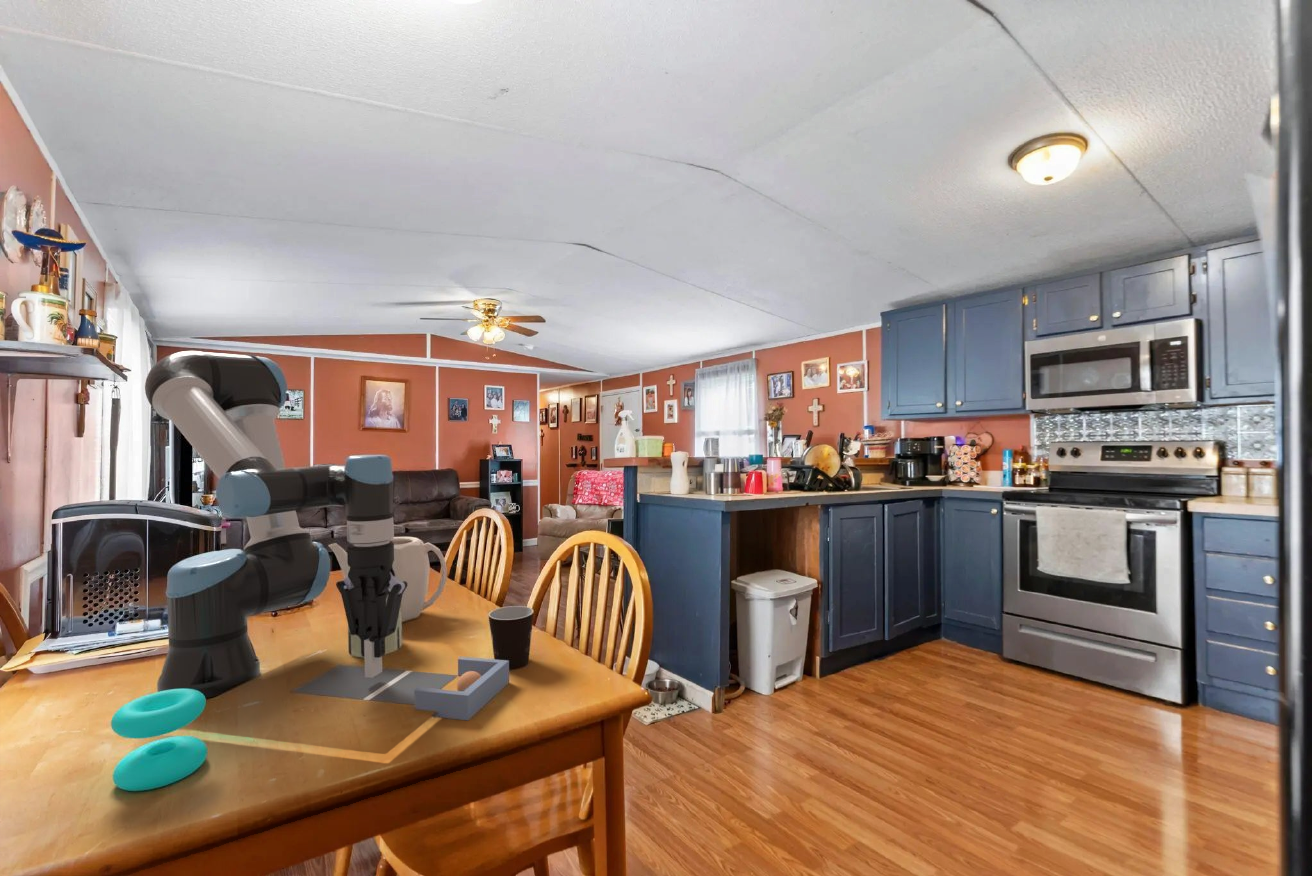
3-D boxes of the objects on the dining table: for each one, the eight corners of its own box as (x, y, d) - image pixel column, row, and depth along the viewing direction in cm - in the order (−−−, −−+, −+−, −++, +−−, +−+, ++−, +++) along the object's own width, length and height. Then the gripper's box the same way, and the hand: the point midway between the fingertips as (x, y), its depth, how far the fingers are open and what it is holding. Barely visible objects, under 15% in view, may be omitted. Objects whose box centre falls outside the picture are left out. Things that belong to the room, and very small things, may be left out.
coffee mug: (523, 673, 115) (522, 620, 115) (481, 670, 117) (480, 618, 117) (546, 650, 127) (546, 602, 126) (507, 647, 128) (507, 600, 128)
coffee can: (338, 654, 126) (337, 586, 125) (387, 640, 134) (386, 575, 133) (362, 666, 119) (360, 594, 119) (412, 651, 127) (411, 583, 127)
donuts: (223, 687, 87) (156, 721, 77) (225, 756, 88) (158, 798, 78) (163, 682, 89) (89, 715, 79) (165, 750, 89) (92, 792, 79)
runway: (290, 697, 106) (290, 691, 106) (340, 669, 118) (340, 664, 118) (419, 711, 101) (419, 705, 101) (458, 680, 112) (458, 675, 112)
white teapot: (340, 612, 154) (338, 537, 153) (451, 604, 159) (450, 532, 158) (319, 633, 138) (316, 549, 138) (443, 624, 144) (441, 544, 143)
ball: (469, 672, 103) (480, 696, 103) (481, 663, 107) (492, 686, 107) (447, 683, 104) (459, 707, 103) (460, 673, 108) (471, 696, 108)
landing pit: (414, 714, 99) (414, 690, 99) (461, 677, 113) (461, 656, 113) (468, 720, 97) (467, 695, 97) (509, 682, 111) (508, 660, 111)
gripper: (323, 545, 106) (326, 679, 107) (389, 548, 103) (392, 686, 104) (353, 537, 114) (356, 663, 114) (416, 539, 111) (418, 668, 111)
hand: (373, 674), depth 109 cm, fingers closed
